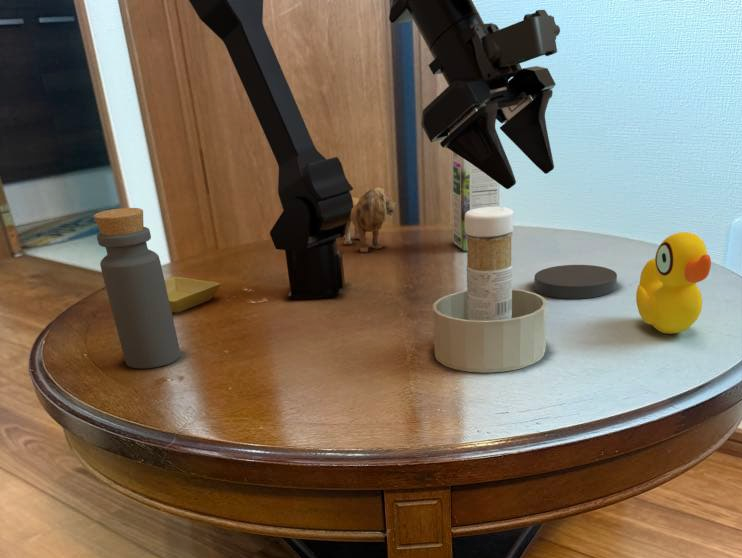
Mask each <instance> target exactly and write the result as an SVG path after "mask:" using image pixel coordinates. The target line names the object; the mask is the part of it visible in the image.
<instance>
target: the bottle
mask: <svg viewBox="0 0 742 558" xmlns="http://www.w3.org/2000/svg"><path fill="white" fill-rule="evenodd" d="M93 219H94V221H95V223H96V225H97V228H98V229H99V233H97V234H96V240H97V243H98V245H99V246H100V247H102V248H105V250H106V255H105V256H104V257H102V259H101V260H100V263H99V266H100V270H101V274H102V279H103V282H104V286H105V289H106V293H107V297H108V301H109V305H110V309H111V312H112V316H113V320H114V325H115V327H116V333H117V336H118V340H119V344H120V347H121V350H122V354H123V358H124V361H125V364H126V366H128V367H130V368H133V369H154V368H159V367H162V366H163V367H164V366H167V365H169V364H172V363H174V362H176V361H178V359H179V358H181V350H180V344H179V340H178V336H177V335H178V334H177V329H176V327H175V321H174V317H173V312H171V307H170V303H169V298H168V294H167V289H166V285H165V280H166V279H165V276H164V272H163V267H162V263H161V259H160V256H159V254H158V253H156V252H155V251H154V250H151V249H149V248H148V244H147V242H149V241H150V240H151V239H152V235H151V230H150V229H149V227H146V226H144V209H142V208H138V207H122V208H113V209H108V210H103V211H99V212H96V213H95V214H93Z"/></svg>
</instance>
